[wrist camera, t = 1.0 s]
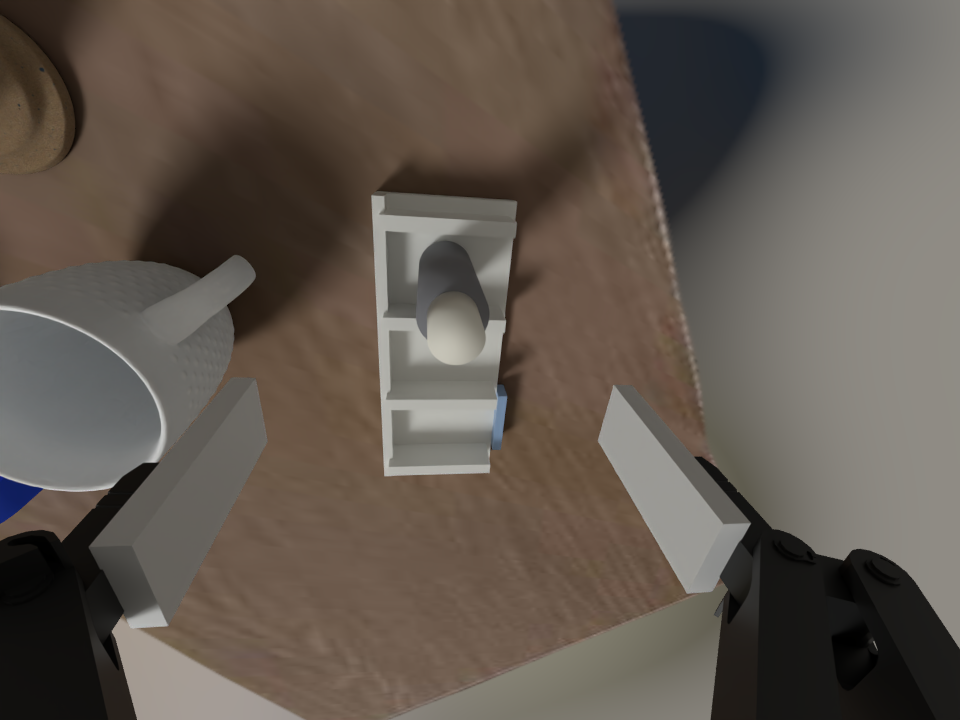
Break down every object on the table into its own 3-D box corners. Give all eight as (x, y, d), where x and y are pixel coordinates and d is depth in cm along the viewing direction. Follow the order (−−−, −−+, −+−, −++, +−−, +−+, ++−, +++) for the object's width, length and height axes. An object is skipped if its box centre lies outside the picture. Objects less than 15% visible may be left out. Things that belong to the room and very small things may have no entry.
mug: (216, 175, 27) (61, 196, 15) (329, 305, 32) (275, 393, 21) (63, 293, 29) (-172, 387, 18) (190, 396, 34) (71, 522, 23)
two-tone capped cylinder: (419, 239, 29) (414, 297, 18) (473, 242, 30) (502, 300, 19) (418, 291, 31) (414, 375, 20) (469, 293, 32) (494, 375, 20)
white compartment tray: (376, 190, 29) (369, 197, 25) (525, 200, 30) (538, 208, 26) (387, 454, 40) (383, 484, 36) (495, 451, 41) (501, 480, 38)
